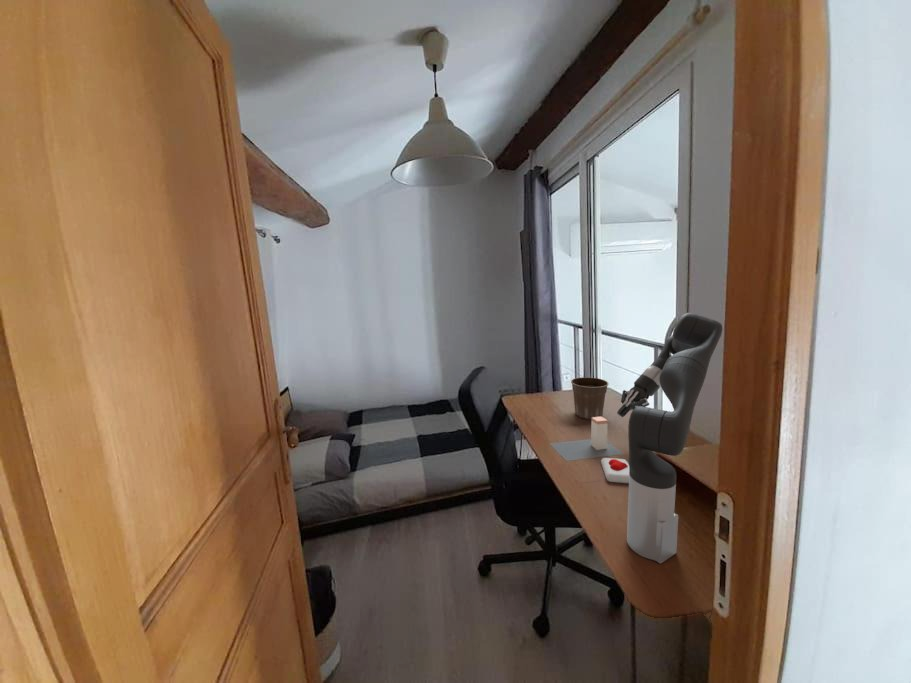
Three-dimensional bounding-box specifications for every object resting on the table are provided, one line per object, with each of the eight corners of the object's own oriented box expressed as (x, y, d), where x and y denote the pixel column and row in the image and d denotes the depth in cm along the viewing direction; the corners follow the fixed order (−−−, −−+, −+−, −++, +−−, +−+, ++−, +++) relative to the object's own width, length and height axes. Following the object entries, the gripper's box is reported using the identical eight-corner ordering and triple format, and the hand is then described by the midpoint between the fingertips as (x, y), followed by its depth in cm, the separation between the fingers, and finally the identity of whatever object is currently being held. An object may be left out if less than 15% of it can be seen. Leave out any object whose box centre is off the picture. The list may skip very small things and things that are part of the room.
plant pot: (609, 423, 152) (610, 387, 150) (570, 420, 157) (570, 385, 155) (606, 410, 167) (606, 378, 165) (570, 407, 173) (571, 376, 170)
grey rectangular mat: (601, 438, 137) (601, 437, 137) (624, 455, 123) (624, 453, 123) (549, 445, 134) (549, 443, 134) (566, 462, 120) (566, 460, 120)
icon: (642, 473, 104) (607, 470, 107) (642, 486, 105) (606, 483, 107) (632, 454, 116) (600, 452, 118) (631, 466, 117) (600, 463, 119)
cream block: (600, 443, 132) (601, 416, 130) (606, 448, 128) (607, 420, 126) (591, 445, 131) (591, 417, 129) (596, 449, 127) (597, 421, 125)
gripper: (632, 370, 134) (603, 403, 134) (657, 378, 121) (624, 415, 121) (644, 382, 136) (615, 415, 136) (670, 391, 123) (637, 428, 123)
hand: (619, 415), depth 129 cm, fingers closed
